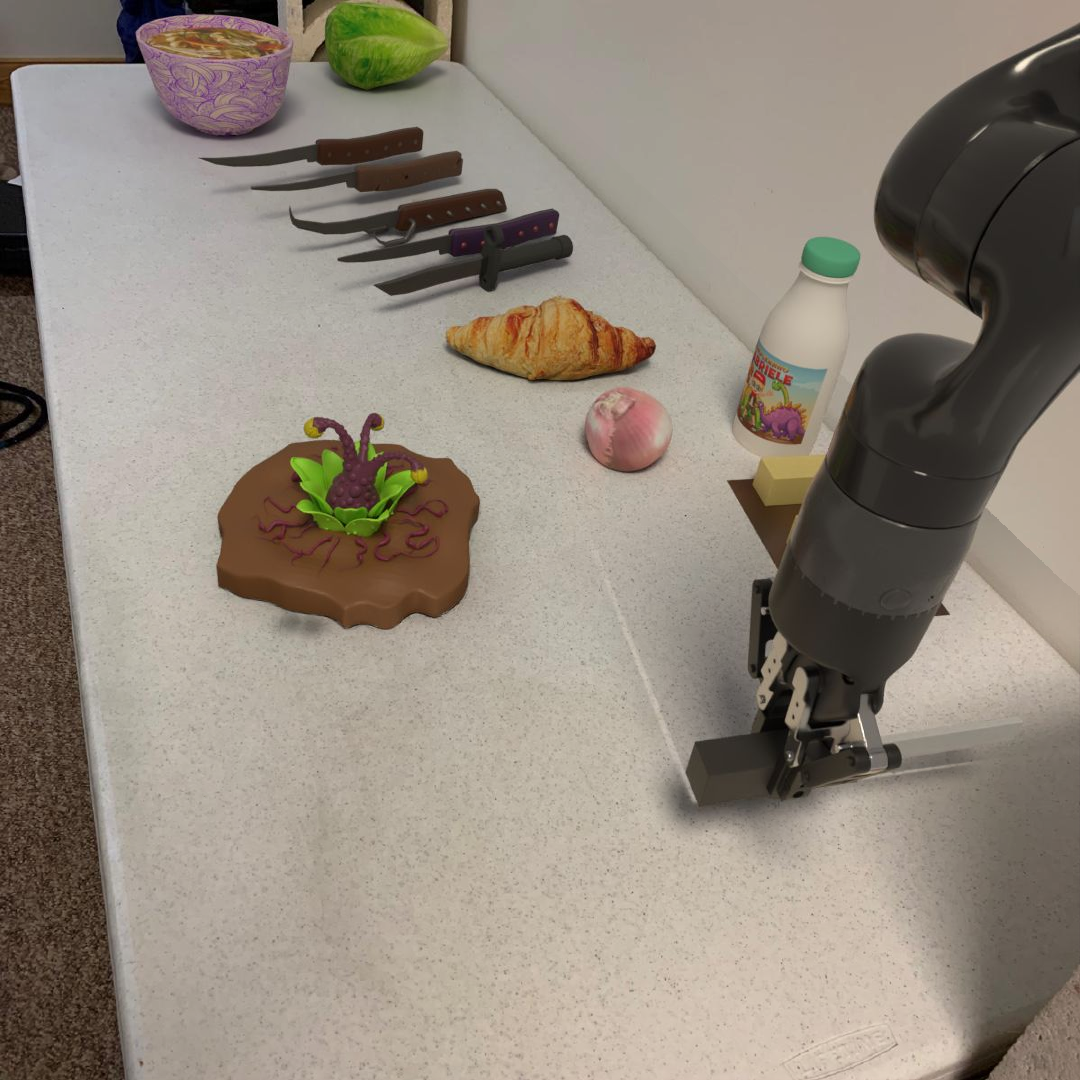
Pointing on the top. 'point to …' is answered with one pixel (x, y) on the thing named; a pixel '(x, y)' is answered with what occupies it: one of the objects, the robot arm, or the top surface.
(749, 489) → the butter board
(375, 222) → the knife set
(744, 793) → the butter knife
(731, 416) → the top surface
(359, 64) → the lettuce
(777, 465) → the butter slice
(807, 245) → the milk bottle
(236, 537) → the plant
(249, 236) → the top surface
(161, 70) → the bowl of food
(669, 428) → the onion
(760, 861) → the top surface
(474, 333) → the croissant
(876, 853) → the top surface
